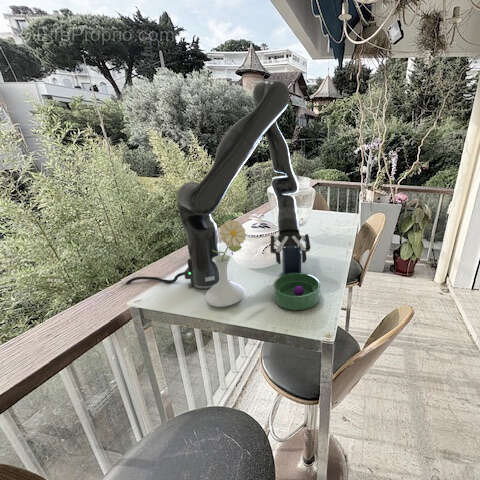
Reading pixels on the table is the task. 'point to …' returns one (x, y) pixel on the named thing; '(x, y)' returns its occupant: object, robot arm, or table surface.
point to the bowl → (286, 287)
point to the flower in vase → (226, 289)
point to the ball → (298, 290)
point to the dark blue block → (291, 260)
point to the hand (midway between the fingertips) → (291, 262)
